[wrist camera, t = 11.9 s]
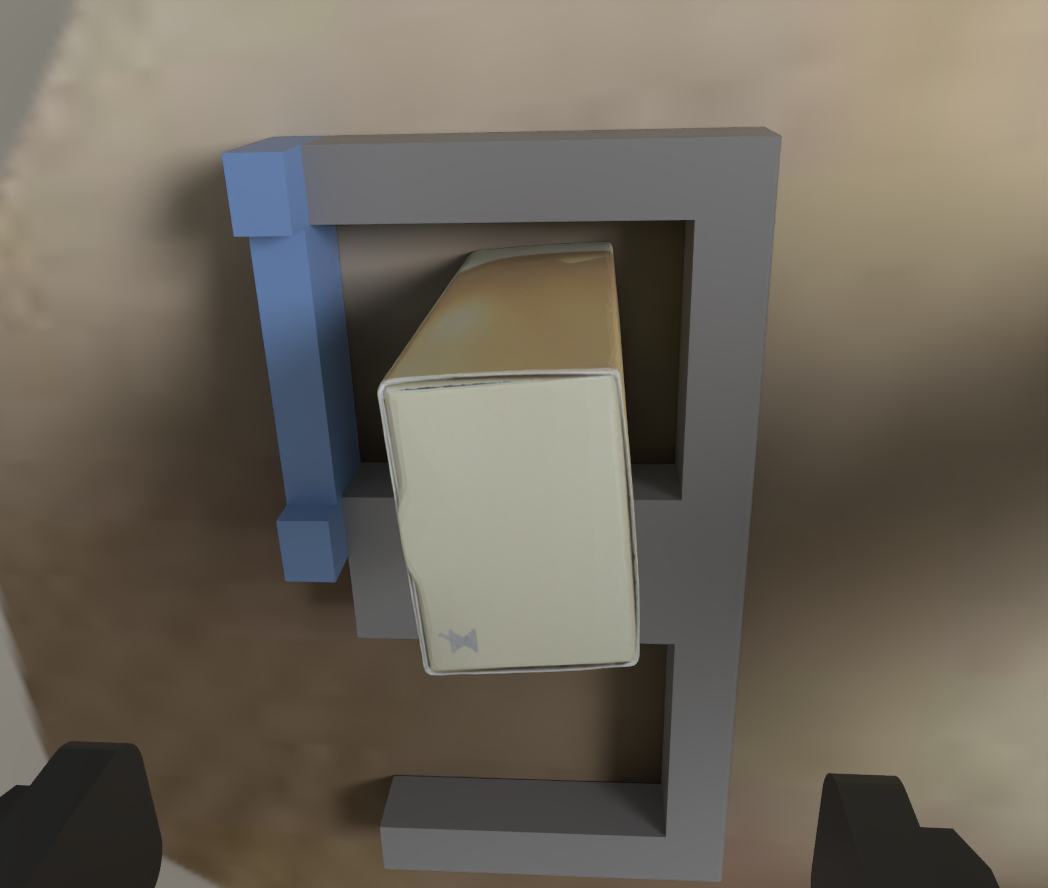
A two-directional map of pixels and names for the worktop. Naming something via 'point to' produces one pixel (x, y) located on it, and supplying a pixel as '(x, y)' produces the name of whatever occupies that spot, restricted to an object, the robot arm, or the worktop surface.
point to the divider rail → (658, 489)
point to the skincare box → (517, 467)
